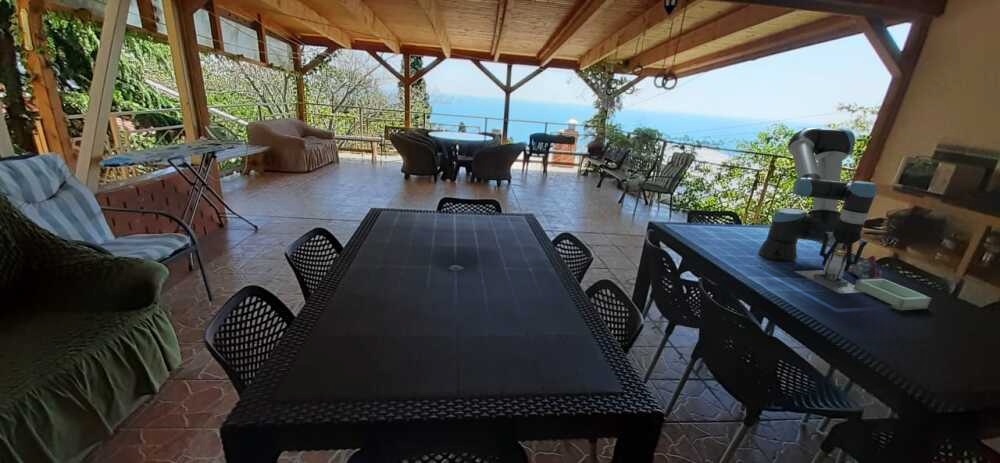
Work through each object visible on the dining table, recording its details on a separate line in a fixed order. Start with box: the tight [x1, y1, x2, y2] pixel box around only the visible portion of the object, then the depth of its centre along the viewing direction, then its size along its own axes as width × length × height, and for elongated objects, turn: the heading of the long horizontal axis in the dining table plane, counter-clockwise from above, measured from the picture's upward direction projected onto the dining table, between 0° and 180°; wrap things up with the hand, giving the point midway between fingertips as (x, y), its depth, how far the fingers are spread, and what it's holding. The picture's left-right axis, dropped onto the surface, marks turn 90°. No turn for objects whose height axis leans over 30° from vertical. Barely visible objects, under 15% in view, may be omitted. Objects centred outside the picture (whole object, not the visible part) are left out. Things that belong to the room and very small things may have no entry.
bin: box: [854, 278, 932, 311], centre depth 148 cm, size 16×13×4 cm
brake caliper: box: [848, 255, 883, 280], centre depth 164 cm, size 11×11×12 cm
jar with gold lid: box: [824, 249, 847, 281], centre depth 157 cm, size 5×5×13 cm
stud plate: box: [794, 270, 864, 294], centre depth 159 cm, size 20×14×2 cm
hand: (831, 275), depth 158 cm, fingers closed on jar with gold lid, 4 cm apart
